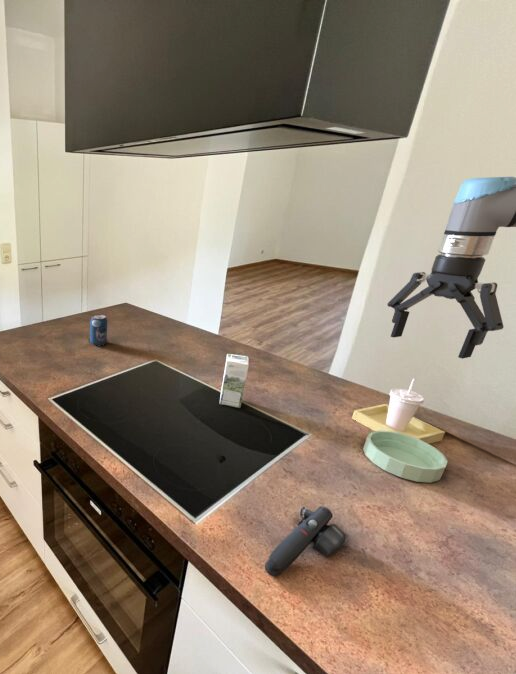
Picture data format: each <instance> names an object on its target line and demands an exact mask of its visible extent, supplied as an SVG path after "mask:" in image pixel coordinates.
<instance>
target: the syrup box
mask: <svg viewBox="0 0 516 674" xmlns="http://www.w3.org/2000/svg"><path fill="white" fill-rule="evenodd" d="M249 362H250V361H249V356H248V355H241V354H232V353H227V354H226V358H225V364H224V365H225V366H224V372H223V377H222V385H221V389H220V397H219V405H221V406H227V407H232V408H237V409H241V407H242V402H243V398H244V397H243V396H244V392H245V387H246V383H247V376H248V372H249V366H250V363H249Z"/></svg>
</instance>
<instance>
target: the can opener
mask: <svg viewBox="0 0 516 674" xmlns="http://www.w3.org/2000/svg"><path fill="white" fill-rule="evenodd" d="M299 517H300V518H301V519H300V520H299V521H298V523H297V526H296V527H295V528H294V529H293V530H292V531H291V532H290V533H289V534H287V536H286V537H285V538H284V539H282V541H280V543H279V544H278V545H277V546H276V548H274V549H273V551H272V552H271V553H270V554H269V556H268V560H267V561H266V562H265V563H264V569H265V572H266V573H267V574H268V575H269V576H271V577H274V578H275V577H278V576H279V575H281V574H282V573H284V571H286V570H287V569H288V568H289V567H290V566H291V565H292V564H293V563H294V562H295V561H296V560H297V559H298V558H299V557H300V555H302V553H303V552H304V551H305V550H306V549H307V547H309V545H310V544H311V543H312V542H314V544H313V546H312V549H313V550H315V551H316V552H318V553H319V554H320V555H322V556H324V557H325V558H328V557H330V556H332V555H334V554H336V553H337V552H338V551H340V549H341V548H342V547H343V545H344V543H345V542H346V537H347V534H346V533H345V532H344V531H343V530H342V529H341V528H340V527H339V526H338V525H337V524H336V523H332V524H330V525H329V522H330V521H331V520H332V519H333V517H334V515H333V513H332V511H331V510H330V509H329V508H328V507H326V506H319V507H318V508H317V509H316V510H315V511H313V510H311V509H309V508H308V507H305V506H301V508H300V509H299Z"/></svg>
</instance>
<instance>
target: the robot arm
mask: <svg viewBox="0 0 516 674" xmlns="http://www.w3.org/2000/svg"><path fill="white" fill-rule="evenodd" d="M499 228H516V177H515V176H490V177H471V178H469V179H466V180H465V181H463V182H462V183H461V185H460V187H459V190H458V192H457V194H456V197H455V200H454V201H453V204H452V208H451V211H450V214H449V215H448V219H447V224H446V225H445V229H444V232H443V234H442V239H441V241H440V244H439V246H438V249H437V252H438V253H439V254H437V255H436V256H435V258H434V261H433V263H432V267H431V271H430V274H427V273H426V272H425V271H420V272H419V271H418V272H414V273H412V275H411V277H410V278H409V279H410V280H409V281H408V282H407V283H406V285H404V286H403V287H402V288H401V289H400V290H399V291H398V292H397V293H396V294H395V296H393V297H392V298H391V299H390V300H389V301H388V302H387V303H386V304H387V307H388V308H392V309H393V310H394V313H393V316H392V319H391V323H393V324H394V325H393V327H392V330H391V334H390V337H391V338H400V337H402V336H403V332H404V330H405V328H406V324H407V321H408V318H409V315H410V311H408V309H410V308H411V307H414V306H415V305H417V304H419V303H420V302H422V301H424V300H426V299H428V298H430V297H431V296H434V297H438V298H440V297H443V298H445V299H449V300H455V301H456V302H457V303H458V304H460V306H461V308H462V309H463V311H464V313H465V315H466V316H467V318H468V320H469V321H470V323H471V325H472V326H473V328H471V329H470V328H469V329H468V332H467V334H466V336H465V339H464V341H463V343H462V347H461V349H460V351H459V354H458V356H457V358H459V359H462V360H463V359H468V358H471V357H472V355H473V352H474V350H475V348H476V346H481V345H482V344H483V343H484V341H485V338H486V337H487V333H488V332H494V331H500V330H501V331H502V330H503V329H504V327H505V326H504V323H503V319H502V314H501V311H500V306H499V302H498V298H497V294H496V293H497V289H498V283H497V282H479V280H478V279H479V277H480V275H481V273H482V270H483V268H484V265H485V262H486V261H487V260H486V258H485V257H484V256H487V255H489V253H490V250H491V248H492V245H493V241H494V239H495V236H496V235H497V232H498V229H499ZM424 282H426V283H427V285H428V286H427V287H425V288H423V289H422V290H420V292H418V293H416V294H415V295H413V296H411V297H410V298H408V297H409V296H410V295H411V294H412V293H413V292H414V291H416V289H417V288H419V287H420V286H421V284H423V283H424ZM476 289H477V292H478V294H479V298H480V303H481V307H482V310H481V309H480V307H479V305H478V303H477V302H476V300H475V296H474V294H473V292H472V291H474V290H476ZM407 298H408V299H407ZM482 311H483V312H482Z"/></svg>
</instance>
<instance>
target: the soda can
mask: <svg viewBox="0 0 516 674" xmlns="http://www.w3.org/2000/svg"><path fill="white" fill-rule="evenodd" d="M89 323H90V326H89V335H90V336H89V342H90V344H91V345H92V344H93V345H92V346H94V345H98V346H97V347H101V346H100V345H103V346H105V345H106V343H107V342H108V319H107V315H105V314H100V313H99V314H98V313H97V314H93V315H92V316H91V318H90V320H89ZM104 344H105V345H104Z"/></svg>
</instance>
